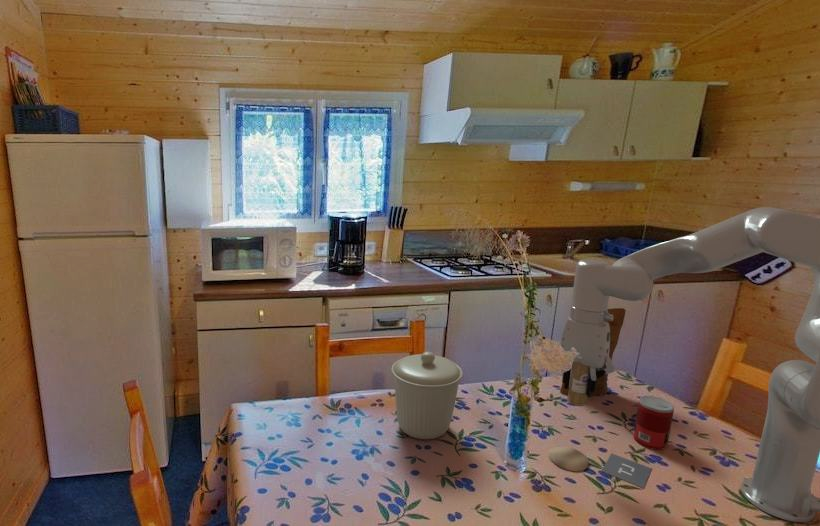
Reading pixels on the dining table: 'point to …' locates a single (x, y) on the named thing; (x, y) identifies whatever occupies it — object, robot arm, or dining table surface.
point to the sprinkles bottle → (578, 384)
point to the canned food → (653, 422)
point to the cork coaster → (568, 458)
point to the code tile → (627, 470)
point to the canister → (425, 394)
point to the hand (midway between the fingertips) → (578, 389)
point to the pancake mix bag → (614, 336)
